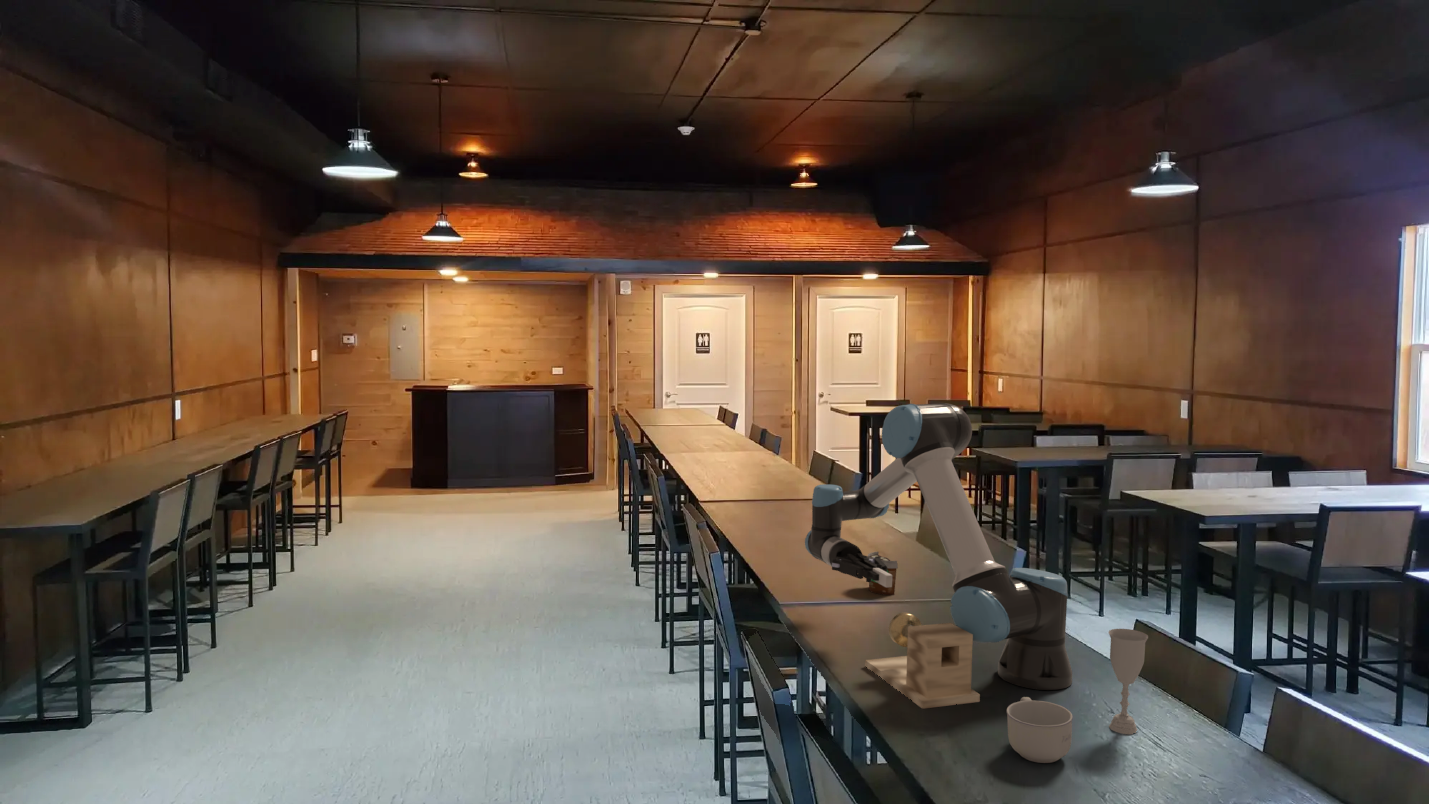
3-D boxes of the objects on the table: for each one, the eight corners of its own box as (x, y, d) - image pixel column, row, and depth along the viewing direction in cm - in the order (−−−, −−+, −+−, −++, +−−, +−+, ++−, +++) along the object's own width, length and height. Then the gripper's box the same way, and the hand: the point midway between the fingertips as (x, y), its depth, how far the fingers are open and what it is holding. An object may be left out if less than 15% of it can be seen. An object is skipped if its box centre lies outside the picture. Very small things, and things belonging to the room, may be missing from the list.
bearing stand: (865, 666, 205) (867, 606, 204) (917, 661, 209) (919, 602, 208) (922, 708, 182) (924, 641, 181) (979, 701, 186) (982, 635, 185)
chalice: (1110, 717, 180) (1115, 626, 178) (1148, 727, 175) (1153, 633, 174) (1098, 729, 174) (1103, 635, 173) (1137, 740, 170) (1142, 643, 168)
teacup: (1075, 773, 156) (1077, 726, 156) (1008, 765, 159) (1010, 720, 158) (1062, 738, 170) (1064, 695, 169) (1000, 732, 172) (1001, 689, 172)
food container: (857, 586, 272) (858, 552, 271) (876, 584, 274) (877, 551, 273) (877, 597, 260) (878, 562, 259) (896, 596, 262) (898, 561, 261)
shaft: (888, 645, 201) (889, 613, 201) (916, 642, 203) (917, 611, 203) (917, 664, 190) (918, 630, 189) (947, 661, 192) (948, 627, 192)
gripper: (865, 568, 232) (914, 595, 210) (817, 572, 228) (862, 599, 206) (866, 539, 232) (915, 563, 209) (818, 541, 227) (863, 566, 205)
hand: (889, 581), depth 208 cm, fingers closed
